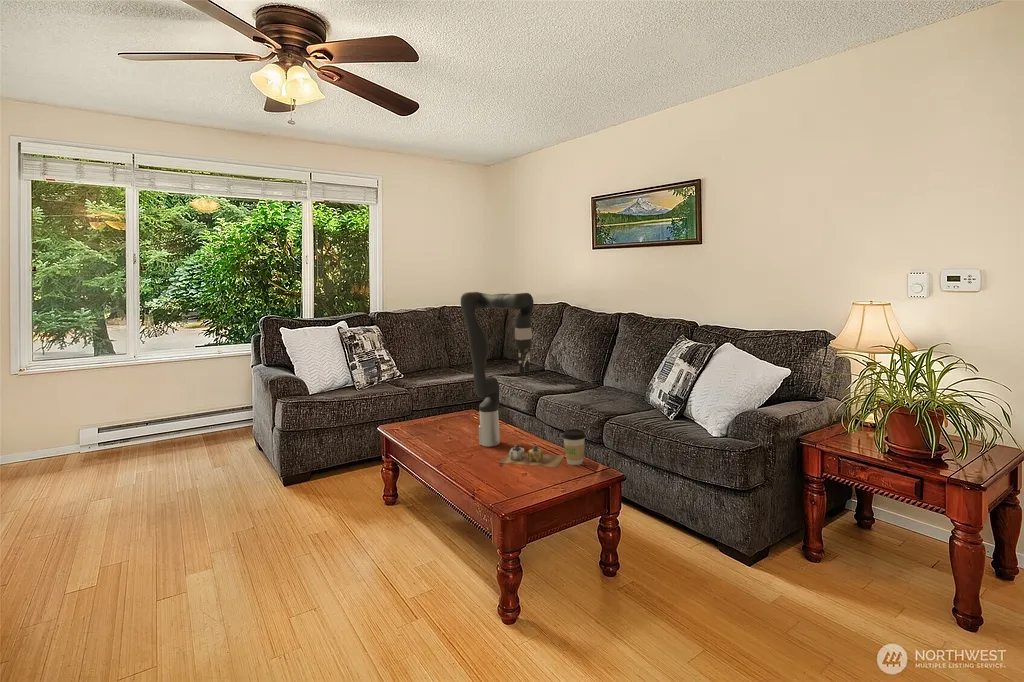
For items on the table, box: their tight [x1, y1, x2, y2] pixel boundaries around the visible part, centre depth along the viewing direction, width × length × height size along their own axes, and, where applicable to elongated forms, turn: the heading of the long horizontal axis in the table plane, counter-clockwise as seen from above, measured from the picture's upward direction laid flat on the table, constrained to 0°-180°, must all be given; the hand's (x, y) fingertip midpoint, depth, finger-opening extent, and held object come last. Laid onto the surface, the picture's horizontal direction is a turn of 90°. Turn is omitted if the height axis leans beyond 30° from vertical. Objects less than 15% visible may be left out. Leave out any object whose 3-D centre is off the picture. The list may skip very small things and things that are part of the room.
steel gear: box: [509, 446, 525, 460], centre depth 235 cm, size 6×6×4 cm
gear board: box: [499, 443, 565, 468], centre depth 233 cm, size 26×14×8 cm, turn 72°
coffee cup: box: [562, 428, 587, 466], centre depth 227 cm, size 10×10×15 cm
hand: (524, 373), depth 239 cm, fingers open, 8 cm apart
